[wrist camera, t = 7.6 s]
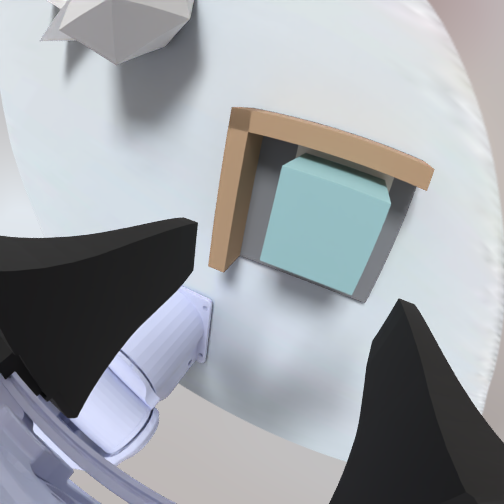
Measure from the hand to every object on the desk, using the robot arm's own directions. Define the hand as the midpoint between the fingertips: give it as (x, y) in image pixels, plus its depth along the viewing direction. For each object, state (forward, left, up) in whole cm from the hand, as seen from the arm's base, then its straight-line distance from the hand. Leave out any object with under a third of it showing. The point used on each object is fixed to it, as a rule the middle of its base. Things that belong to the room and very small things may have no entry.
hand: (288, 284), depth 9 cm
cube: (0, 0, -9) cm, 9 cm away
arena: (-1, +1, -10) cm, 10 cm away
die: (+12, +15, -10) cm, 21 cm away
